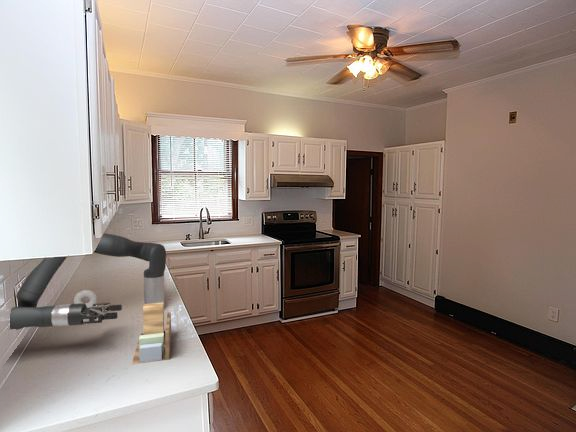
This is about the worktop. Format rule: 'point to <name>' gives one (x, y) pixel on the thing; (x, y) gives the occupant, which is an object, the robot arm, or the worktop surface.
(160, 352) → the offcut
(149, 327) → the light brown wooden block
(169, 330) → the rack
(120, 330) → the worktop surface
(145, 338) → the offcut
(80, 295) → the donut
